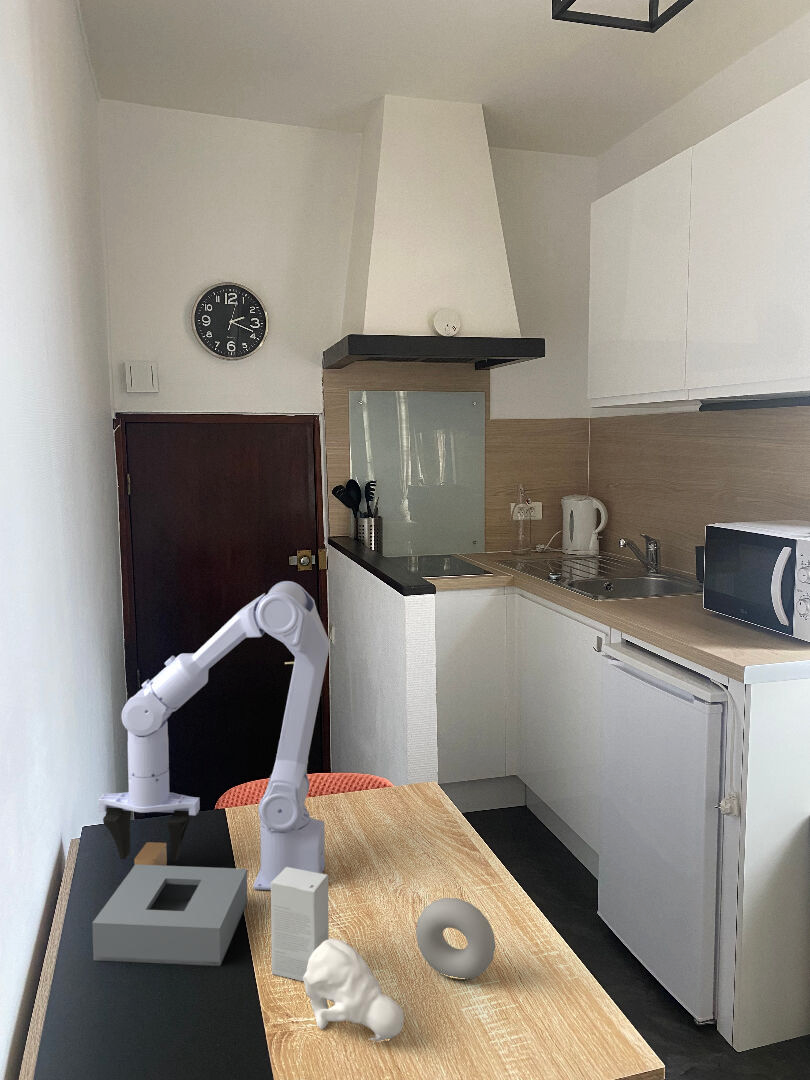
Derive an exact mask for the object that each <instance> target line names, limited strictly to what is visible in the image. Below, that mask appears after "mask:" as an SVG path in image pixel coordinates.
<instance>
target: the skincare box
mask: <svg viewBox="0 0 810 1080" xmlns="http://www.w3.org/2000/svg"><path fill="white" fill-rule="evenodd" d="M329 916H330V915H329V874H325V873H323V874H321V873H315V872H310V871H305V870H300V869H295V868H290V867H286V868H285V869H284V870H283V871H282V872H281V873H280V874H279V875H278V876H277V877H276V878H275V879H274V880H273V881H272V882H271V890H270V918H271V920H270V923H271V924H270V925H271V931H270V932H271V934H270V935H271V938H270V939H271V942H270V943H271V945H270V946H271V974H272V975H273V974H274V976H279V977H282V976H283V977H282V978H286V977H287V978H286V979H290V978H291V980H294V979H295V981H298V982H299V981H300V982H303V976H304V975H305V973H306V971H307V966H308V961H309V958H310V956H311V955H312V953H313V952H314V950H315V949H316V948H317V947H318V946H320V945H321V944H322V943H323V942H324V941H325V940H328V939H330V938H329V937H330V935H329V934H330V932H329V929H330V928H329V922H330V921H329Z"/></svg>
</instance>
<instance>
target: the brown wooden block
mask: <svg viewBox="0 0 810 1080" xmlns="http://www.w3.org/2000/svg"><path fill="white" fill-rule="evenodd" d="M167 853H168V852H167V842H155V841H154V842H152V841H151V842H148V841H147V842H146V843H145V844H144V845H143V847H142V848H141V849H140V850H139V852H138V853H137V855H136V856H135V858H134V859H133V860H134V863H133V864H134V865H135V864H136V865H161V866H168V865H167V864H168V863H167V861H168V859H167V858H168V857H167V855H168V854H167Z"/></svg>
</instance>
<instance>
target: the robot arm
mask: <svg viewBox="0 0 810 1080" xmlns="http://www.w3.org/2000/svg"><path fill="white" fill-rule="evenodd" d="M315 602H316V601H315V599H314V598H313V597H312V596H311V595H310V594H309V593H308V592H307V591H306V589H304V587H302V585H300V584H298V583H296V582H294V581H289V580H283V581H280V582H277V583H276V584H275V585H273V586H272V587H271V588H270V590H268V593H267V594H266V593H265V592H264V593H262V594H261V595H260V596H258V597H256V598H255V599H253V600H252V601H251V602H249V603H248V604H246V605H245V606H243V607H242V608H241V609H240V610H238V611H237V612H236V613H235V614H234V615H233V616H232V617H231V618H230V619H229V620H228V621H227V622H226V623H224V625H223V626H221V628H220V629H219V630H218V631H217V632H215V633H214V635H212V637H210V638H209V639H208V640H206V642H205V643H204V644H203V645H201V646H200V648H199V649H198V650H197V651H196V652H194V653H193V652H191V653H189V652H188V653H186V652H185V653H180V654H179V655H177V656H175V655H171V656H170V657H169V658H168V659H167V660H166V661H165V662H164V665H165V667H164V668H163V669H162V670H161V671H159V672H158V674H157V675H155V676H154V677H153V678H151V680H150V679H149V678H148V679H146V680H145V681H144V682H143V683H142V684H141V687H142V688H141V689H140V690H138V691H137V693H136V694H134V695H133V696H131V697H130V698H129V699H128V700H127V702H126V703H125V705H124V707H123V708H122V711H121V722H122V725H123V727H124V728H125V730H127V771H128V772H127V773H128V774H127V777H128V778H127V779H128V781H127V783H128V791H127V792H118V793H117V792H116V793H103V794H102V795H101V796H100V798H98V800H97V801H98V812H99V813H100V812H103V813H105V812H106V813H105V815H104V817H103V818H102V822H103V824H104V826H105V827H106V828H107V830H108V831H109V833H110V834H111V836H112V838H113V841H114V844H115V845H116V848H117V852H118V855H119V859H120V860H123V861H124V860H126V858H127V857H128V856H129V855H130V853H131V815H132V812H135V813H143V814H144V813H173V814H172V815H171V816H170V818H169V819H168V821H167V827H168V831H169V838H170V839H169V840H170V862H171V863H172V862H173V863H175V862H177V861H178V860H179V858H180V856H181V849H182V845H183V840H184V837H185V834H186V831H187V829H188V826H189V823H190V821H191V819H192V816H193V817H194V816H197V814H198V813H199V811H200V807H201V806H200V799H201V798H200V797H194V796H189V795H185V794H178V793H175V792H172V791H171V792H170V769H169V767H170V765H169V763H170V759H169V758H170V757H169V756H170V755H169V734H168V733H169V731H168V729H169V728H168V726H169V725H168V718H169V717H170V716H171V715H172V713H173V712H176V711H178V709H180V708H181V707H182V706H183V705H184V704H185V703H187V702H188V701H189V700H190V699H191V698H192V697H194V695H195V694H196V693H198V691H200V690H201V689H202V688H203V687H205V686H206V684H207V683H208V682H209V670H210V668H212V667H213V666H214V665H215V664H217V662H219V661H220V660H221V659H222V658H224V657H225V656H226V655H227V654H228V653H230V652H231V651H232V650H233V649H234V648H235V647H237V646H238V645H239V644H240V643H241V642H242V641H244V640H245V639H247V638H261V637H263V635H264V634H265V633H267V634H268V635H269V636H271V637H272V638H274V639H275V640H277V641H280V642H281V643H282V644H283V645H284V646H286V648H287V649H288V650H289V652H291V654H292V655H293V656H294V663H293V668H292V673H291V678H290V682H289V689H288V693H287V699H286V705H285V708H284V709H285V710H284V714H283V719H282V726H281V732H280V738H279V741H278V746H277V753H276V757H275V762H274V766H273V769H272V773H271V774H270V775H269V778H268V783H267V786H266V789H265V791H264V794H263V796H262V797H261V799H260V801H259V804H258V810H257V811H258V816H259V818H260V823H259V824H260V825H259V826H260V827H259V828H260V830H259V831H260V834H259V835H260V868H259V871H258V873H257V876H256V878H255V881H254V882H253V885H252V888H253V890H265V891H271V882H272V881H273V880H274V879H275V878H276V877H277V876H278V875H279V874H280V873H281V872H282V871H283V870H284V869H285V868H286V867H290V868H295V869H300V870H305V871H310V872H315V873H321V874H324V871H325V866H326V859H325V858H326V856H325V854H326V853H325V851H326V850H325V848H326V846H325V843H326V841H325V839H326V837H325V833H326V832H325V831H326V829H325V821H324V820H320V819H316V818H313V817H312V816H310V812H309V811H308V809H307V807H306V805H305V802H306V798H307V796H308V794H309V792H310V780H309V776H308V770H307V769H308V764H309V755H310V749H311V744H312V738H313V734H314V728H315V724H316V717H317V712H318V708H319V703H320V697H321V693H322V692H321V691H322V687H323V683H324V678H325V677H324V676H325V672H326V666H327V662H328V656H329V651H330V640H329V638H328V635H327V633H326V630H325V627H324V624H323V622H322V621H321V618H320V615H319V613H318V609H317V606H316V603H315Z"/></svg>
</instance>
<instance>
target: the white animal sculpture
mask: <svg viewBox="0 0 810 1080" xmlns="http://www.w3.org/2000/svg"><path fill="white" fill-rule="evenodd" d="M303 981H304V982H303ZM303 981H302V982H303V984H304V989H305V993H306V996H307V997H308V998H309V999H310V1004H311V1009H312V1011H313V1014H314V1017H315V1020H316V1026H317V1027H319V1028H320V1030H321V1029H322V1030H324V1029H326V1027H327V1025H328V1023H329V1022H344V1021H345V1022H346V1021H349V1022H350V1023H352V1024H361V1025H362V1026H364V1027H367V1028H369V1029H370V1030H371V1031H372V1032H373V1033H374V1035H375V1036H374V1037H372V1036H370V1038H368V1040H369V1041H373V1042H377V1041H381V1040H385V1039H391V1038H392V1039H393V1038H394V1037H396V1036H398V1035H399V1034H400V1033H401V1031H402V1029H403V1026H404V1017H405V1016H404V1015H405V1014H404V1012H403V1011H404V1010H403V1009H402V1007H401V1005H400V1004H398V1002H397V1001H395V1000H394V999H392V998H391V996H388V995H387V994H383V991H382V988H381V984H380V982H379V980H378V979H377V978H376V976H374V974H373V973H372V970H371V968H370V966H369V965H368V964H367V962H366V961H365V960H364V958H363V957H362V956H361V955H360V954H359V952H357V950H356V949H355V947H353V946H351V945H350V944H348V943H347V942H345V940H341V939H337V938H333V937H331V938H329V939H328V940H325V941H324V942H323V943H322V944H321V945H320V946H318V947H317V948H316V949H315V950H314V952H313V953H312V955H311V956H310V958H309V961H308V966H307V971H306V973H305V975H304V976H303ZM328 1000H329V1001H330V1002H332V1003H333V1004H334V1005H332V1006H331V1007H329V1006H328ZM319 1028H318V1029H319ZM323 1028H324V1029H323ZM392 1039H391V1040H392ZM381 1042H382V1041H381Z"/></svg>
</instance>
